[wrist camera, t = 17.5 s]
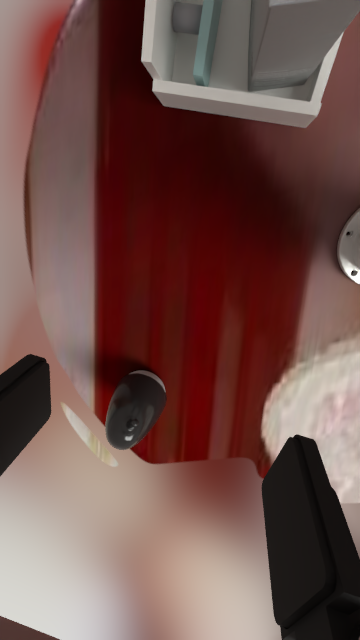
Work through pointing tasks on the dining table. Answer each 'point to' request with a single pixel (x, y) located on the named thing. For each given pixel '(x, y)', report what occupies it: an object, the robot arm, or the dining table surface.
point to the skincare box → (293, 39)
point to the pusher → (199, 33)
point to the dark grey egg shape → (134, 408)
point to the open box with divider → (223, 69)
